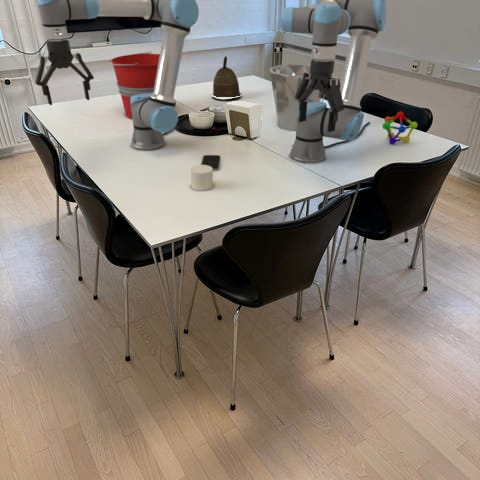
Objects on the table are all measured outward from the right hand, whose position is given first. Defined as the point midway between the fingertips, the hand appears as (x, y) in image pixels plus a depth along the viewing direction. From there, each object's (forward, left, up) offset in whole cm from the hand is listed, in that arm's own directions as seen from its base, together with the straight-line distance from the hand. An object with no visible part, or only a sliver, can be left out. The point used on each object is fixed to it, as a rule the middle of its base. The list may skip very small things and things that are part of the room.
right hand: (316, 126), depth 151 cm
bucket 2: (-50, -65, -25) cm, 86 cm away
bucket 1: (+6, -128, -25) cm, 131 cm away
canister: (+30, -28, -25) cm, 48 cm away
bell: (-51, -133, -25) cm, 145 cm away
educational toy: (-71, -17, -25) cm, 77 cm away
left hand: (+63, -67, +3) cm, 92 cm away
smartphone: (+15, -45, -25) cm, 54 cm away
